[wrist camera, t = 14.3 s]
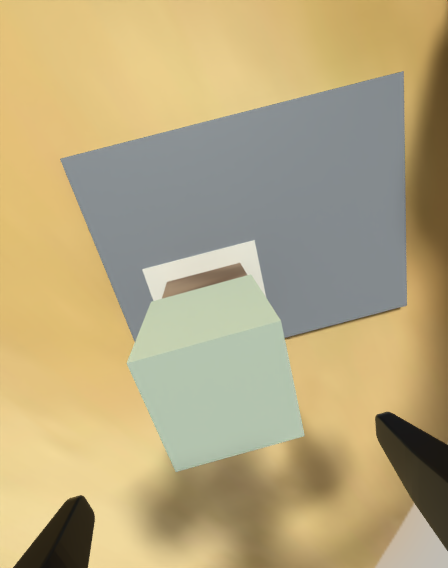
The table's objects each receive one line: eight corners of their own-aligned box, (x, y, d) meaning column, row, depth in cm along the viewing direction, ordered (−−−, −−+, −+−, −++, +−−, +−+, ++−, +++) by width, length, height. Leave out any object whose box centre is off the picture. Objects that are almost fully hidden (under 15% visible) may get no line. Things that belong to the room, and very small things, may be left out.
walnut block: (240, 262, 18) (255, 288, 14) (255, 327, 20) (273, 369, 15) (166, 281, 18) (156, 314, 14) (188, 345, 20) (185, 393, 15)
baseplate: (396, 75, 16) (404, 70, 16) (401, 302, 21) (407, 305, 21) (64, 159, 16) (59, 158, 15) (149, 368, 21) (147, 374, 20)
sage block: (250, 274, 13) (280, 320, 9) (270, 358, 15) (304, 435, 10) (151, 301, 13) (126, 363, 9) (181, 383, 15) (175, 471, 10)
